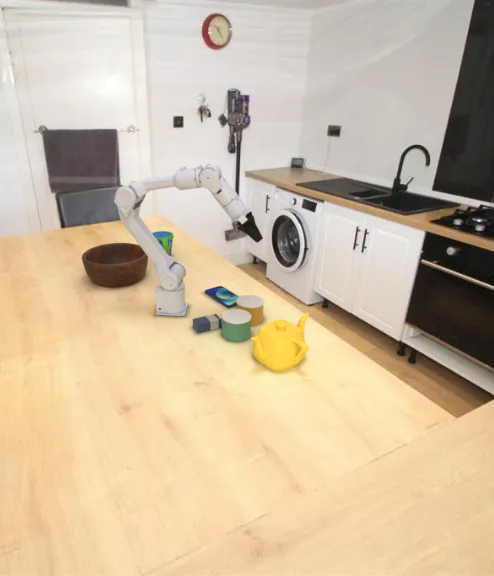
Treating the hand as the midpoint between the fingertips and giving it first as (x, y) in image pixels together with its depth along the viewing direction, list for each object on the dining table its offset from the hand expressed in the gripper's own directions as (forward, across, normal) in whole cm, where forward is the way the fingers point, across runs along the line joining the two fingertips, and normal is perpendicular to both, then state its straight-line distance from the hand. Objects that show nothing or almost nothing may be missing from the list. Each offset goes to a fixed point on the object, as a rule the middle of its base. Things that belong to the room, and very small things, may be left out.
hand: (259, 238), depth 120 cm
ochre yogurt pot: (+20, +4, +18) cm, 27 cm away
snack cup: (-9, +59, +41) cm, 72 cm away
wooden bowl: (-16, +35, +55) cm, 67 cm away
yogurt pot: (+18, -5, +23) cm, 29 cm away
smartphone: (+13, +19, +23) cm, 33 cm away
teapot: (+27, -18, +14) cm, 36 cm away
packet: (+12, -2, +29) cm, 32 cm away
